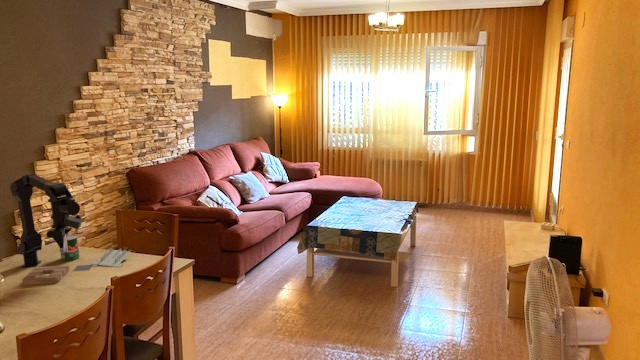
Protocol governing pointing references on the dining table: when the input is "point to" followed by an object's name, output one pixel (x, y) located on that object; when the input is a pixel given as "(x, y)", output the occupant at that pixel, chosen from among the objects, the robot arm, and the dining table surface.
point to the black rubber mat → (83, 267)
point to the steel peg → (64, 245)
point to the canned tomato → (71, 249)
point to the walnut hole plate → (46, 275)
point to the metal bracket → (112, 258)
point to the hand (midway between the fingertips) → (63, 246)
